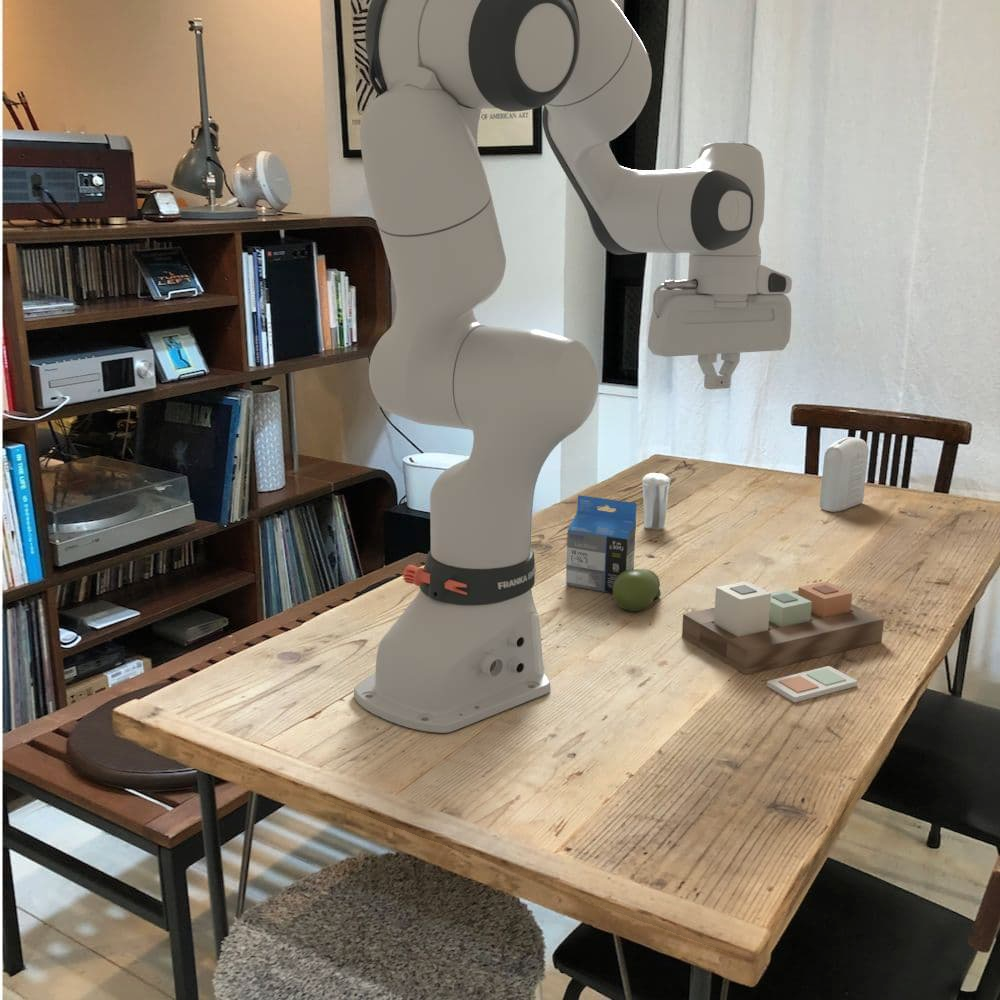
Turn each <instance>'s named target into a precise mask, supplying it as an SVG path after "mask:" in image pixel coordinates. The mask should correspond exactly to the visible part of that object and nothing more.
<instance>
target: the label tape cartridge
mask: <svg viewBox="0 0 1000 1000" xmlns="http://www.w3.org/2000/svg"><path fill="white" fill-rule="evenodd" d="M605 506H608V508H610V509H615V510H616V511H615V512H613V511H608V510H607V511H606V510H600V509H598V507H602V508H604V507H605ZM636 527H637V502H634V501H626V500H625V501H623V500H616V499H611V498H610V499H609V498H601V497H595V496H587V495H582V494H581V495H580V494H578V495H577V508H576V512H575V515H574V517H573V519H572V521H571V523H570V525H569V526H568V529H567V535H566V537H567V539H566V569H565V570H566V575H565V578H566V579H565V581H566V583H565V585H566V586H567V587H568V586H569V587H574V588H580V589H586V590H592V591H598V592H603V593H610V594H613V585H614V582H615V580H616V578H617V577H618V575H619V574H621V573H622V572H624V571H627V570H631V569H635V549H636V532H637V531H636V529H637V528H636Z"/></svg>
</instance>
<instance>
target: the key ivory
mask: <svg viewBox="0 0 1000 1000" xmlns="http://www.w3.org/2000/svg"><path fill="white" fill-rule="evenodd" d="M771 593H772V592H769V591H768V590H765V589H763V588H761V587H759V586H756V585H755V584H753V583H750V582H749V581H740V582H735V583H729V584H726V585H721V586H720V585H719V586H716V587H715V599H714V608H715V611H714V624H715V625H717V626H719V627H720V628H722V629H724V630H726V631H728V632H729V633H731V634H733V635H735V636H736V637H740V636H745V635H749V634H754V633H758V632H763V631H767V630H768V625H769V613H770V601H771Z"/></svg>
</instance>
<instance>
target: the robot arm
mask: <svg viewBox="0 0 1000 1000" xmlns="http://www.w3.org/2000/svg"><path fill="white" fill-rule="evenodd" d="M368 6H369V7H368V10H367V15H366V18H365V19H366V20H365V31H364V37H365V38H364V39H365V50H366V56H367V61H368V63H369V64H368V78H369V81H370V84H371V85H372V88H373V90H374V91H375V92H376V93H377V95H378V96H377V97H376V98H375V99H373V101H372V102H371V103H369V104H368V106H367V107H366V108H365V110H364V112H363V114H362V117H361V119H360V125H359V139H360V150H361V151H360V152H361V158H362V165H363V170H364V171H363V172H364V177H365V182H366V187H367V192H368V196H369V197H368V198H369V200H370V205H371V208H372V212H373V215H374V218H375V222H376V226H377V228H378V231H379V235H380V239H381V241H382V244H383V245H382V246H383V248H384V252H385V255H386V259H387V262H388V267H389V269H390V273H391V277H392V282H393V286H394V292H395V297H396V299H395V300H396V305H395V306H396V307H395V308H396V309H395V315H394V321H393V323H392V325H391V327H390V328H389V329H388V330H387V331H386V332H385V333H384V334H383V335H382V336H381V337H380V338H379V340H378V341H377V343H376V345H375V346H374V348H373V350H372V354H371V356H370V359H369V369H368V377H369V383H370V387H371V391H372V394H373V396H374V399H375V400H376V402H377V404H378V405H379V406H380V407H381V408H382V410H384V411H386V412H389V413H390V414H393V415H396V416H398V417H401V418H404V419H406V420H409V421H412V422H415V423H418V424H420V425H429V426H437V427H446V428H454V429H462V430H469V431H472V433H473V434H472V435H473V440H472V441H473V442H472V448H471V453H470V455H469V458H467V459H464V460H463V461H460V462H458V463H456V464H454V465H452V466H451V467H449V468H447V469H446V470H444V471H443V472H442V473H440V475H438V477H437V478H436V480H435V482H434V483H433V485H432V487H431V490H430V494H429V503H430V504H429V508H430V509H429V510H430V513H429V514H430V515H429V516H430V517H429V518H430V519H429V521H430V523H429V524H430V550H429V551H428V552H427V555H426V559H425V562H424V567H418V566H416V565H413V564H408V565H407V566H405V568H404V570H403V571H402V574H403V575H402V579H403V581H404V583H406V584H411V585H412V584H414V585H415V586H416V587H419V589H420V590H419V591H418V593H417V594H416V596H415V597H414V598H413V600H412V601H411V602H410V603H409V604H408V605H407V606H406V608H405V610H404V611H403V612H402V613H401V615H400V616H399V618H398V619H397V620H396V621H395V622H394V624H393V625H392V626H391V627H390V629H388V631H387V632H386V634H385V635H384V636H383V637H382V639H381V640H380V642H379V645H378V648H377V652H376V653H377V654H376V659H375V660H376V661H375V671H374V672H373V673H372V674H370V675H369V676H367V677H366V678H364V679H363V680H362V681H360V682H359V683H358V684H357V685H355V686H354V687H353V697H354V699H355V701H356V702H357V704H359V705H360V706H361V707H362V708H364V709H365V710H366V711H368V712H369V713H371V714H373V715H374V716H377V717H380V718H381V719H384V720H385V721H388V722H391V723H394V724H396V725H398V726H403V727H405V728H410V729H413V730H415V731H416V730H418V731H423V732H430V733H445V734H447V733H450V732H454V731H457V730H460V729H461V728H464V727H466V726H469V725H471V724H475V723H478V722H479V721H482V720H484V719H487V718H489V717H492V716H494V715H497V714H500V713H502V712H505V711H507V710H509V709H511V708H512V709H513V708H515V707H517V706H520V705H522V704H525V703H526V702H529V701H532V700H534V699H537V698H539V697H542V696H544V695H547V694H549V693H550V691H551V690H552V689H551V681H550V678H549V677H548V675H547V674H545V667H544V659H543V647H542V646H543V645H542V635H541V626H540V625H541V623H540V617H539V614H538V612H537V611H538V610H537V609H536V605H535V602H534V598H533V593H532V592H533V591H532V588H533V587H534V585H535V581H536V580H535V579H536V577H535V575H536V570H537V569H536V567H537V566H536V564H535V562H536V561H535V552H534V551H533V549H531V548H532V547H531V546H532V523H533V507H534V498H535V497H534V496H535V489H536V485H537V481H538V478H539V475H540V474H541V473H540V472H541V471H542V467H543V466H544V464H545V463H546V460H547V459H548V457H549V456H550V454H551V453H552V452H553V450H554V449H555V448H556V447H557V446H558V445H559V444H560V443H561V442H562V441H563V440H565V439H566V438H567V437H568V436H570V435H572V434H574V433H575V432H576V431H577V430H578V429H580V428H581V427H582V426H583V425H584V423H585V422H586V421H587V420H588V418H589V417H590V415H591V413H592V411H593V410H594V408H595V405H596V402H597V398H598V393H599V376H598V370H597V366H596V364H595V360H594V358H593V356H592V354H591V353H590V351H589V350H588V349H587V347H586V346H585V344H584V343H583V342H581V341H578V340H576V339H572V338H569V337H567V336H565V335H564V336H563V335H560V334H556V333H552V332H550V331H549V332H548V331H545V330H543V329H535V328H534V329H531V328H519V327H518V328H516V327H505V326H502V327H501V326H487V325H483V324H481V323H480V322H479V321H478V320H477V318H476V317H475V316H476V315H475V314H474V309H476V308H478V307H479V306H481V305H482V304H484V303H485V302H487V301H488V300H489V299H490V298H491V297H492V295H494V294H495V293H496V292H497V290H498V289H499V287H500V285H501V283H502V281H503V278H504V276H505V271H506V265H507V257H506V253H505V249H504V244H503V240H502V236H501V231H500V227H499V222H498V219H497V214H496V210H495V206H494V202H493V201H494V200H493V197H492V192H491V189H490V185H489V182H488V178H487V174H486V171H485V167H484V164H483V161H482V157H481V155H480V151H479V148H478V146H479V145H478V131H479V130H478V128H479V121H480V117H481V113H482V110H481V109H498V110H500V111H504V112H510V113H511V112H513V113H515V112H524V111H531V110H533V109H535V110H536V109H538V108H540V107H543V109H542V115H541V116H542V118H541V119H542V127H543V131H544V136H545V138H546V140H547V142H548V144H549V147H550V149H551V151H552V153H553V155H554V157H555V158H556V160H557V161H558V163H559V165H560V167H561V168H562V170H563V172H564V173H565V175H566V177H567V178H568V180H569V183H570V184H571V186H572V187H573V189H574V191H575V192H576V194H577V196H578V197H579V199H580V202H582V204H583V206H584V208H585V211H586V212H587V216H588V218H589V219H588V220H589V223H590V226H591V229H592V231H593V233H594V235H595V238H596V239H597V240H598V241H599V243H600V244H601V246H603V248H604V249H605V250H606V251H607V252H609V253H611V254H613V255H619V256H622V255H633V254H635V255H636V254H637V255H638V254H643V253H654V254H657V253H658V254H681V253H682V254H683V253H684V254H686V253H687V254H689V255H688V256H689V258H688V276H687V279H682V280H674V279H672V280H671V279H669V280H665V281H663V283H662V284H660V285H659V286H657V288H656V289H654V292H653V295H652V297H653V298H652V312H651V317H650V321H649V328H648V335H647V336H648V337H647V347H648V350H649V351H650V353H651V354H653V356H654V355H655V356H659V357H665V358H667V357H685V356H688V357H689V356H697V363H698V365H699V367H700V369H701V372H702V373H703V375H704V378H703V380H704V381H703V386H704V388H705V389H707V390H719V389H720V390H721V389H730V388H731V385H732V384H731V382H732V375H733V374H734V372H735V371H736V368H737V367H738V365H739V363H740V361H741V360H740V357H741V353H742V354H743V353H760V352H761V353H762V352H776V351H783V350H785V348H786V347H787V345H788V344H789V343H790V340H791V339H790V338H791V329H792V305H791V304H792V303H791V301H790V298H789V297H788V296H787V295H786V294H789V293H790V292H791V291H792V285H793V280H792V278H791V277H790V276H788V275H786V274H784V273H781V272H779V271H777V270H774V269H772V268H770V267H767V266H765V265H763V264H762V249H761V245H760V230H761V228H762V225H763V222H764V220H765V219H764V218H765V203H766V202H765V200H766V199H765V193H766V192H765V191H766V188H765V185H766V183H765V167H764V160H763V156H762V152H761V151H760V149H758V148H756V147H755V146H753V145H751V144H748V143H744V142H738V141H737V142H736V141H733V140H732V141H730V140H727V141H725V140H723V141H721V140H720V141H713V142H710V143H707V144H704V145H702V146H701V148H700V151H699V153H698V159H697V160H696V161H695V162H694V163H692V164H690V165H687V166H686V168H678V169H658V170H657V169H656V170H655V169H654V170H653V169H652V170H641V169H639V170H638V169H631V168H628V167H624V166H622V165H620V164H619V162H618V161H617V159H616V157H615V155H614V154H613V152H612V149H611V147H610V145H609V142H611V141H613V140H615V139H617V138H618V137H619V136H620V135H622V134H623V133H624V132H626V131H627V129H629V128H630V126H632V125H633V123H634V122H635V121H636V119H637V118H638V117H639V116H640V115H641V112H642V111H643V108H644V106H646V103H647V100H648V97H649V94H650V91H651V86H652V76H653V73H652V65H651V62H650V61H651V60H650V58H649V54H648V52H647V49H646V48H645V46H644V43H643V41H642V40H641V38H640V37H639V35H638V34H637V32H636V31H635V29H634V28H633V26H632V24H631V23H630V21H629V20H628V19H627V17H626V16H625V14H624V12H623V11H622V10H621V8H620V7H619V6H618V4H617V3H616V2H615V0H371V1H370V4H369V5H368ZM378 85H379V86H380V88H379V86H378ZM718 355H720V360H721V361H723V363H722V364H721V367H720V369H719V371H718V373H717V371H716V368H715V365H714V363H717V361H718Z"/></svg>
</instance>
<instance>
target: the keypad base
mask: <svg viewBox="0 0 1000 1000" xmlns="http://www.w3.org/2000/svg"><path fill="white" fill-rule="evenodd" d="M792 592H793V593H795V594H797V595H798V590H794V591H792ZM714 611H715V607H711V608H706V609H701V610H696V611H691V612H685V613H683V614H682V630H681V637H682V638H684V639H686V640H687V641H688V642H690V643H692V644H694V645H695V646H697V647H699V648H700V649H702V650H703V651H704V652H706V653H708V654H710V655H711V656H714V657H715V658H717V659H718V660H720V661H721V662H723V663H725V664H727V665H728V666H730V667H731V668H733V669H734V670H737V671H738V672H740V673H741V674H743V675H745V676H746V675H751V674H754V673H758V672H762V671H768V670H771V669H775V668H778V667H783V666H788V665H791V664H796V663H800V662H804V661H808V660H812V659H817V658H820V657H825V656H829V655H833V654H838V653H840V652H845V651H848V650H852V649H856V648H857V649H858V648H861V647H865V646H870V645H874V644H878V643H882V640H883V631H884V624H885V623H884V622H885V619H884V618H883V617H881V616H878V615H877V614H874V613H872V612H869V611H868V610H866V609H863V608H861V607H859V606H857V605H854V604H852V603H851V611H850V612H848V613H844V614H839V615H835V616H830V617H826V618H821V617H819V616H817V615H815V614H813V613H811V617H810V621H808V622H803V623H799V624H794V625H790V626H785V627H779V626H777V625H775V624H774V623H772V622H770V621H769V625H768V630H767V631H763V632H758V633H754V634H749V635H745V636H740V637H736V636H735V635H733V634H731V633H729V632H728V631H726V630H724V629H722V628H720V627H719V626H717V625H715V624H714Z"/></svg>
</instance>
